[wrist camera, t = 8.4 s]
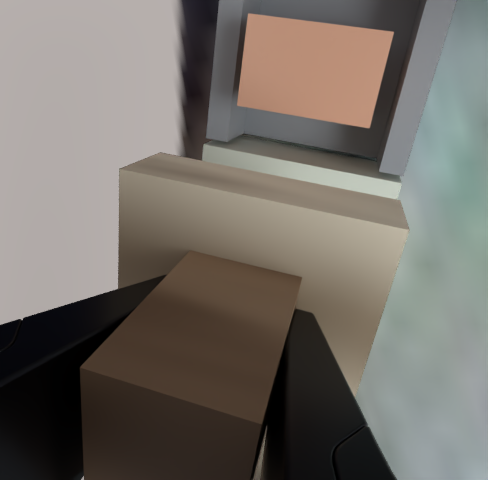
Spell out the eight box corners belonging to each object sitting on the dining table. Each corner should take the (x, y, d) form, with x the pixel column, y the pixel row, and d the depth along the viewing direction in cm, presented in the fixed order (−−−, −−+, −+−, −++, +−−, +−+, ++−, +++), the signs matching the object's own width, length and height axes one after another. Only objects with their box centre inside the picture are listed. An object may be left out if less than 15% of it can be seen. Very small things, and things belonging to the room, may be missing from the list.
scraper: (340, 394, 12) (325, 661, 7) (150, 340, 13) (3, 529, 8) (399, 200, 9) (453, 368, 4) (160, 152, 11) (-48, 236, 5)
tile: (369, 128, 12) (393, 31, 11) (236, 105, 13) (247, 13, 12) (368, 115, 15) (386, 41, 14) (265, 97, 16) (275, 26, 15)
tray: (397, 159, 16) (403, 175, 14) (228, 128, 17) (206, 138, 15) (457, -46, 13) (479, -72, 11) (251, -65, 15) (228, -93, 12)
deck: (352, 311, 19) (350, 350, 16) (211, 274, 20) (188, 305, 18) (395, 164, 16) (401, 183, 14) (228, 133, 18) (203, 144, 15)
